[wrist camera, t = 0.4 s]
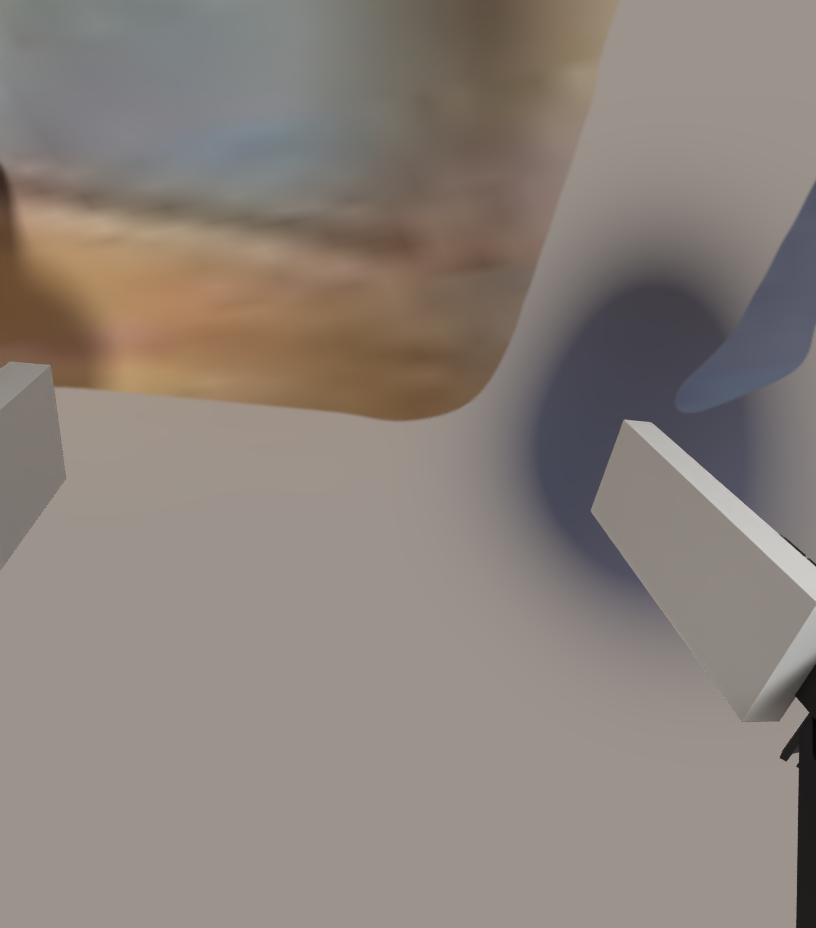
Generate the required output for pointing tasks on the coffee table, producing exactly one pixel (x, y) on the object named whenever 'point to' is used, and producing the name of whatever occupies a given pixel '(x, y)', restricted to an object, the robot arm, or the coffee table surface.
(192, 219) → the coffee table surface
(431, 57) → the coffee table surface
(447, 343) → the coffee table surface
